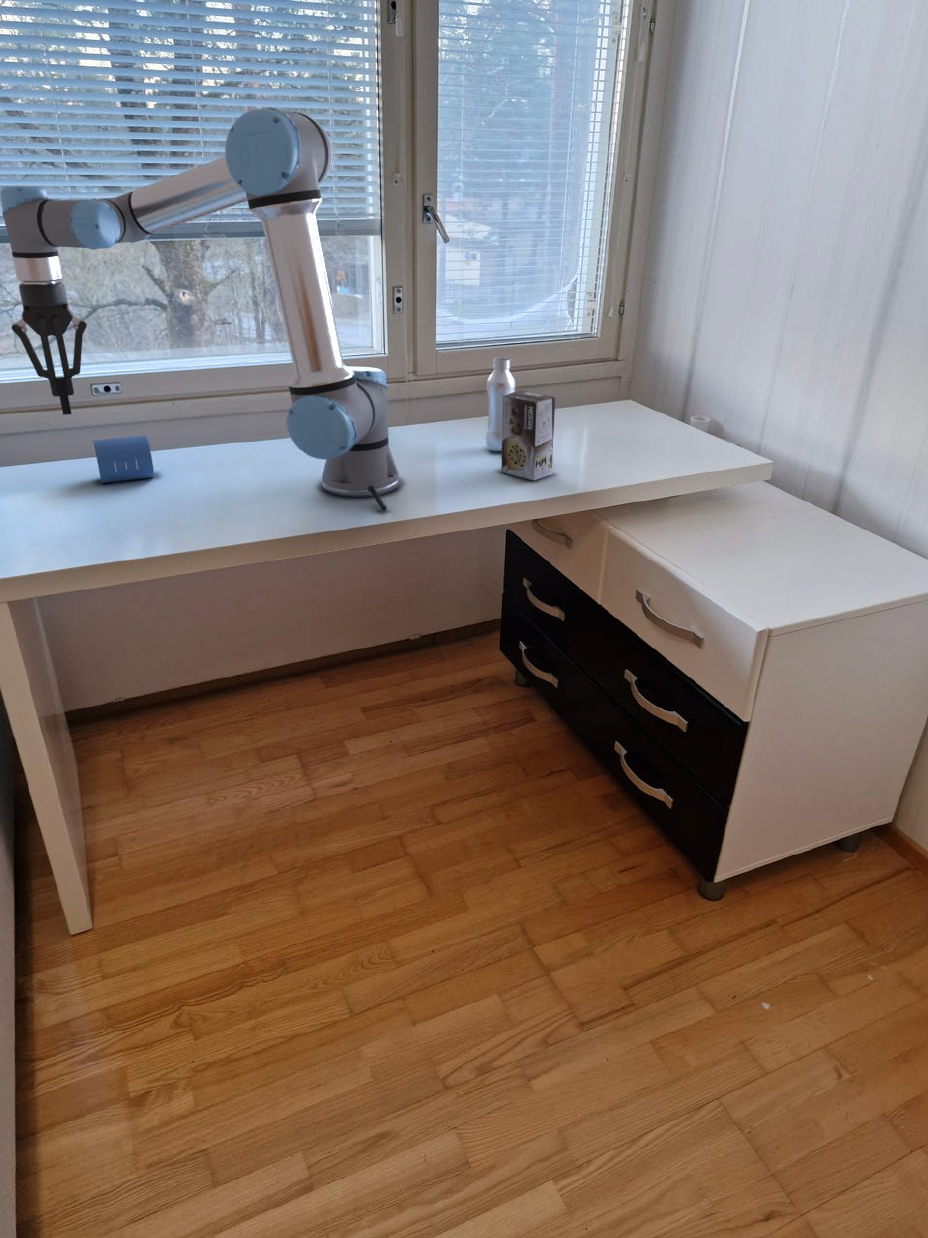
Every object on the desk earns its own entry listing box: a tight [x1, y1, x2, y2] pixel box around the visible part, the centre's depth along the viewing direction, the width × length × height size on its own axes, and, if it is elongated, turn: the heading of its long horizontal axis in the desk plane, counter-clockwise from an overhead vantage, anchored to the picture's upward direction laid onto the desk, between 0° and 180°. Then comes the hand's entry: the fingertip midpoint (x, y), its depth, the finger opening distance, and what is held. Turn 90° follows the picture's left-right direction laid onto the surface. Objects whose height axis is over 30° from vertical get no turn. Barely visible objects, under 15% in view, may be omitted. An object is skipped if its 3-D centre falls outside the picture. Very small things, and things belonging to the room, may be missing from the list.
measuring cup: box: [93, 434, 155, 484], centre depth 174 cm, size 10×8×8 cm
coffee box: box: [500, 389, 556, 481], centre depth 177 cm, size 9×6×16 cm
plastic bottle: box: [485, 357, 517, 452], centre depth 191 cm, size 6×7×20 cm
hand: (67, 412), depth 167 cm, fingers closed
